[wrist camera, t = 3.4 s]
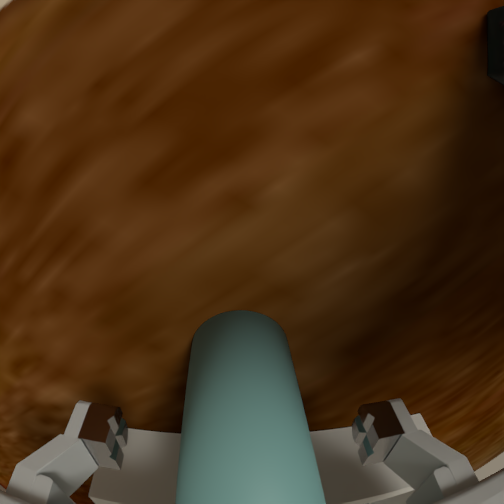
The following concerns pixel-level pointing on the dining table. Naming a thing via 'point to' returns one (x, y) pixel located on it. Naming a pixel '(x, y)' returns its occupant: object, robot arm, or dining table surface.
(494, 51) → the ceramic cat
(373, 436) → the robot arm
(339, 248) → the dining table surface
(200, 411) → the peg
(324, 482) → the open box
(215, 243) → the dining table surface
